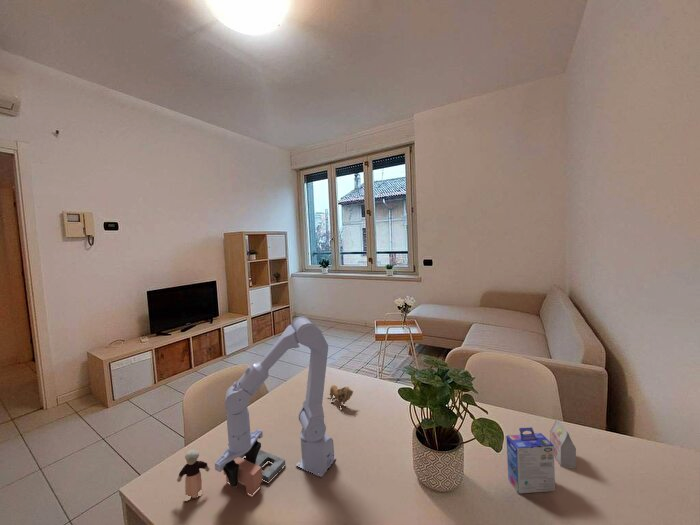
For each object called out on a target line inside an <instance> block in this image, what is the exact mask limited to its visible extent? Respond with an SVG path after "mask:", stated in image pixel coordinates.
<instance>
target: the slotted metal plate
mask: <svg viewBox="0 0 700 525" xmlns="http://www.w3.org/2000/svg"><path fill="white" fill-rule="evenodd" d="M244 456H245V454H243V455H241V456H240V458H243V457H244ZM267 461H270V462H272V463H273V464H270V466H269V467H268V468H267V469H266V470H263V469H262V479H263V480H265V481H267V482H269V481H270V480H271V479H272V478H273V477H274V476H275V475H276V474H277V473H278V472H279V471H280V470H281V469H282V467H283V466H284V465H285V466H286V459H283V458H281V457H278V456H276V455H274V454H271V453H268V452H266V451H264V450H261V449H260V450H259V452H258V455H257V458H256V463H255V464H256V465H258V466H260V467H262V466H263V465H264V464H265V463H266V462H267ZM282 470H283V469H282ZM282 470H281V471H282Z"/></svg>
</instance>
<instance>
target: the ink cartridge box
mask: <svg viewBox="0 0 700 525" xmlns="http://www.w3.org/2000/svg"><path fill="white" fill-rule="evenodd" d="M518 430H519V434H514V435H513V434H512V435H510V434H509V435H506V436H505V437H506V438H505V440H506V454H507V455H506V457H507V478H508V481H509V482H510V484H511V485H512V486H513V488H514V490H515V491H516V492H517V494H530V493H532V494H533V493H545V492H547V493H548V492H555V491H556V478H555V477H556V476H555V475H556V474H555V456H554V445H553V444H552V443H551V442H550V439H548V438H547V437H545V435H543V433H542V432H536V433H535V431H534V429H533V427H532V426H531V427H519V428H518ZM525 432H531V433H525Z"/></svg>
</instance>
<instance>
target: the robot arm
mask: <svg viewBox="0 0 700 525" xmlns="http://www.w3.org/2000/svg"><path fill="white" fill-rule="evenodd" d="M299 344H300V345H303V346H304V347H307V348H309V350H310V354H309V355H310V356H309V365H308V374H307V381H306V382H307V383H306V393H305V400H303V403H302V407H301V410H300V411H299V413H298V421H299V423H300V425H301V430H300V449H301V459H302V460H301V459H300V460H301V461H302V462H301V463H300V462H299V461H298V462H297V463H296V464H295V467H296V466H298V465H300V466H298V467H300V468H302V469H301V470H303V469H304V470H303V471H305V470H306V472H308V471H309V472H308V473H310V472H311V473H310V474H312V473H313V475H315V476H317V477H319V476H320V478H322V477H323V476H324V475H325V474H326V473H327V472H328V470H329V469H330V468H331V466H332V465H333V463H334V462H335V461H334V460H336V459H337V458H336V456H335V446H334V445H335V444H334V439H333V438H332V437H330V436H329V435H328V434H327V433H326V430H327V426H326V424H325V412H324V407H323V399H324V390H325V379H326V372H327V371H326V370H327V362H328V354H329V353H328V352H329V343H328V342H327V340H326V338H325V337H324V335H323V332H322V330H321V329H320V328H319V327H318V326H316V325H315V323H314V322H313V321H312V320H310V319H309V318H308V317H306V316H298V317H296V318H294V320H293V321H292V323H291V324H289V325H288V326H287V327H286V328H285V329H284V331H283V332H282V334H281V335H280V336H279V338H278V339H277V340H276V341H275V343H274V344H273V345H272V346H271V348H270V349H269V350H268V351H267V353H266V354H265V355H264V356H263V357H262V359H261V360H260V361H257V362H253V363H252V364H251V365H250V366H249V365H247V367H246V368H245V369H244V370H245V372H244V373H243V374H242V376H241V377H240V378H239V379H238V380H237V381H234V382H233V384H232V385H231V386H230V387H229V388H227V390H226V392H225V395H224V398H225V399H224V408H225V410H226V424H227V426H226V427H227V430H226V431H227V438H228V440H227V441H228V443H227V446H228V447H227V448H226V449H225V451H224V452H223V453H222V454H221V456H220V457H219V458H218V459H217V460H216V461H215V462H214V470H215V471H217V472H219V473H221V472H222V471H223V470H224V472H225V473H226V475H227V477H228V479H229V482H230V485H231V486H230V485H229V486H230V487H233V488H237V487H238V485H239V482H238V468H239V464H237V463H235V461H234V459H236V458H238V457H240V456H241V455H243V454H245V456H246V459H245V460H247V461H249V462H251V463H254V464H255V463H256V458H257V455H258V452H259V450H261V448H262V442H260V441H258V440H260V439H262V438H263V437H264V435H263V430H261V429H259V428H258V429H256V430H254V431H252V432H251V425H250V424H251V423H250V422H251V421H250V410H249V409H248V406H249V404H250V398H251V397H253V396H254V395H255V394H256V392H257V391H258V390H259V389H260V387H262V386H263V384H264V383H265V381H267V379H268V378H269V375H270V374H269V371H270V369H271V368H272V367H273V366H274V365H275V364H276V363H277V362H278V360H280V359H281V358H282V356H284V354H286V352H287V351H288V350H289V349H290V350H291V349H296V348H297V349H298V348H300V345H299ZM333 461H334V462H333ZM331 464H332V465H331ZM298 467H297V468H298ZM300 468H299V469H300ZM328 468H329V469H328ZM327 469H328V470H327ZM224 472H223V473H224ZM325 472H326V473H325ZM318 473H319V474H318ZM324 473H325V474H324ZM226 475H225V476H226Z"/></svg>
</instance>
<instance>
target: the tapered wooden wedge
mask: <svg viewBox="0 0 700 525" xmlns="http://www.w3.org/2000/svg"><path fill="white" fill-rule="evenodd" d="M234 461H235V463H237V464H239V468H238V483H240V484H242V485H244V486H245V489H246V490H245V491H246V494H247V493H249V494H251V495H253V493H254V492H255V491H256V490H257V489H258V488H259V487H260V488H261V483H263V480H262V470H263V469H262V467H260V466H258V465H256V464H254V463H251V462H249V461H247V460H246V459H242V458H240V457H238V458H236V459H234ZM222 471H223V475H224V476H225V478H226V480H225V481H226V483H227V482H229V479H228V477H227V475H226V473H225V472H224V470H222ZM229 483H230V482H229Z"/></svg>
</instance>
